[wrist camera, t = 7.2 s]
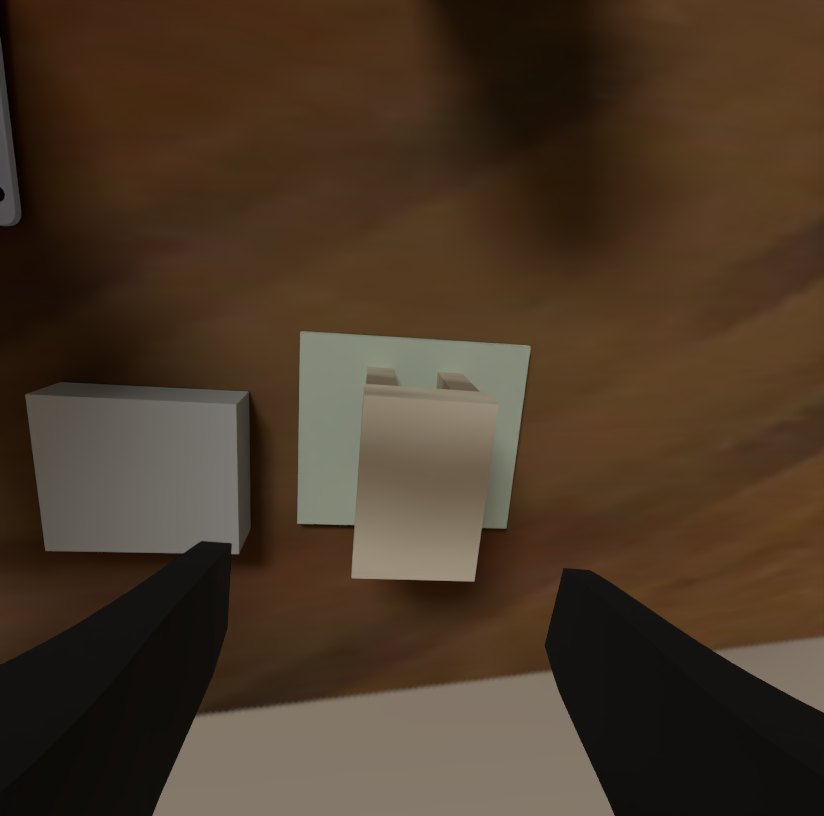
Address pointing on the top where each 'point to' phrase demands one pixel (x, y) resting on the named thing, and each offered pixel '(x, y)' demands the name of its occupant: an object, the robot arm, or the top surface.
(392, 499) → the beige toy stool
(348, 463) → the mat
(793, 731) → the robot arm
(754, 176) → the top surface
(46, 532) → the step
